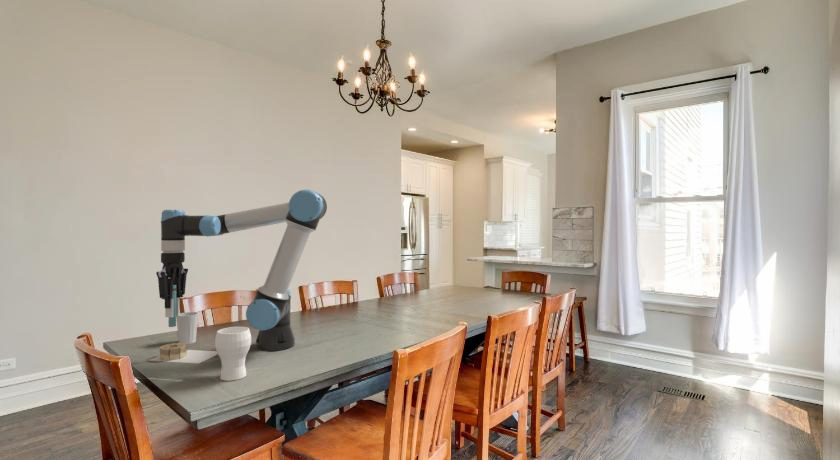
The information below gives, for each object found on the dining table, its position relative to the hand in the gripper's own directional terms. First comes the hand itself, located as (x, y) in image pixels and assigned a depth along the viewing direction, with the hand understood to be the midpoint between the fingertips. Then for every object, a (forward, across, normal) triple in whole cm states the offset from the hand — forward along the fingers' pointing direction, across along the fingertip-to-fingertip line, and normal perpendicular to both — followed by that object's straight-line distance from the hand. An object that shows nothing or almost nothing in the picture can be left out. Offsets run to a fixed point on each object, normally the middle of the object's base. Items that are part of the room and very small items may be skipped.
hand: (172, 316), depth 155 cm
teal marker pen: (+4, 0, 0) cm, 4 cm away
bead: (+15, 0, 0) cm, 15 cm away
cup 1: (+16, -19, -9) cm, 26 cm away
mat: (+15, -2, +4) cm, 16 cm away
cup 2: (+15, +14, +33) cm, 39 cm away
